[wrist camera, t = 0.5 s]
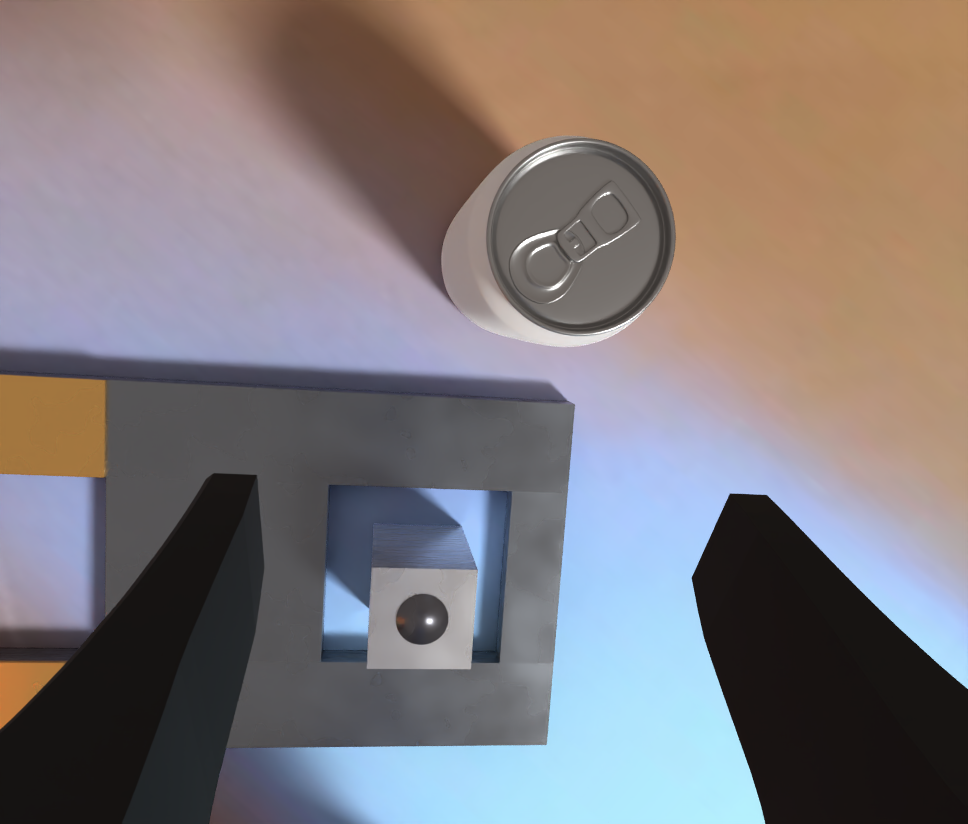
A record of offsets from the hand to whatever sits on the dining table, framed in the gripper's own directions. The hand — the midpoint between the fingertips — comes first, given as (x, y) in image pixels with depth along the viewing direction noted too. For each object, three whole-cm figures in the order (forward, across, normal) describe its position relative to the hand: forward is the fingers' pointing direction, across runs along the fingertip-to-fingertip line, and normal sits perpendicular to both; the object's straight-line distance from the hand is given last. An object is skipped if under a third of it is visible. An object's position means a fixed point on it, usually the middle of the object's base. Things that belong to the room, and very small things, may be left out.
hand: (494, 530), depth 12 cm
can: (+22, -4, +7) cm, 24 cm away
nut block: (+15, 0, +19) cm, 24 cm away
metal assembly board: (+15, +8, +19) cm, 25 cm away
